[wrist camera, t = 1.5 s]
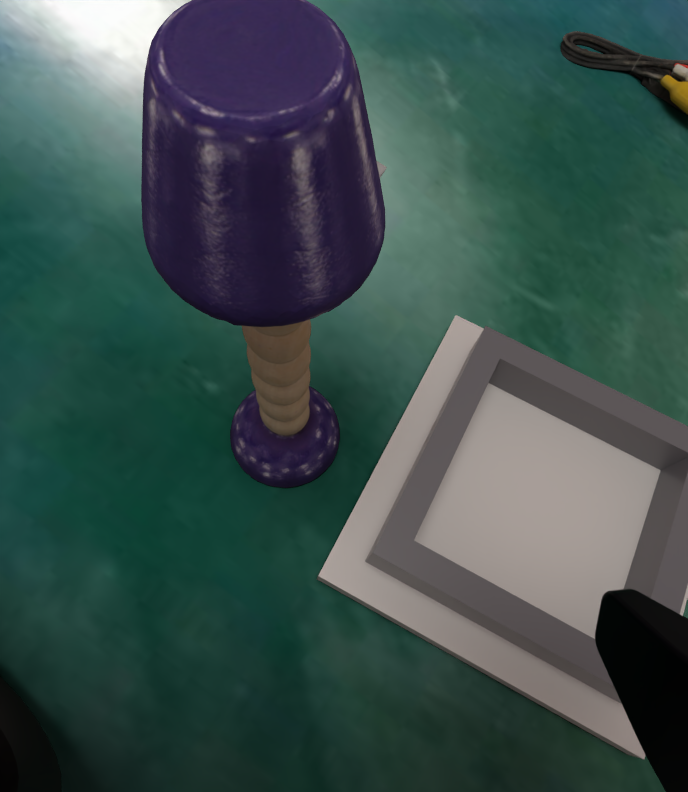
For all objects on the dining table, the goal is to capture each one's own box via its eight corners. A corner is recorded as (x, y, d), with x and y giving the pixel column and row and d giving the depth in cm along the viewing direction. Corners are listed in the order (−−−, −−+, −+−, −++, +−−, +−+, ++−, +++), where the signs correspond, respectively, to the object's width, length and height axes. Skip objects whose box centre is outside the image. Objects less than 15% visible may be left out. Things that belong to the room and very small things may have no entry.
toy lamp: (258, 519, 22) (208, 234, 7) (191, 422, 24) (21, -1, 8) (361, 447, 24) (500, 81, 9) (291, 359, 25) (306, -99, 10)
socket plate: (710, 457, 25) (763, 433, 22) (628, 754, 20) (681, 770, 18) (449, 326, 26) (469, 288, 24) (316, 579, 22) (321, 568, 19)
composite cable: (548, 58, 34) (567, 16, 32) (588, 17, 36) (609, -25, 34) (702, 151, 33) (733, 113, 30) (737, 104, 34) (769, 64, 32)
